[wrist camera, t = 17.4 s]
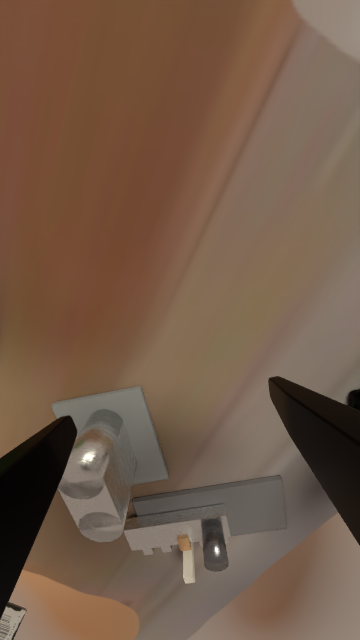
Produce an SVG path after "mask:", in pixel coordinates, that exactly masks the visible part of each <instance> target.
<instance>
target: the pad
mask: <svg viewBox="0 0 360 640" xmlns="http://www.w3.org/2000/svg"><path fill="white" fill-rule="evenodd" d="M51 407H52V409H53V411H54V413H55V416H56V418H57V419H58V418H59V417H62V416H67V415H70V416H71V417H72V419H73V421H74V423H75V425H76V428H77V437H78V435H79V433H80V432H81V430H82V428H83V427H84V425H85V423H86V422H87V420H88V418H89V417H90V415H91V414H92V413H94V412H95V411H97V410H102V409H107V410H111V411H114V412H116V413H117V414H118V415H120V417H121V418H122V419H123V422H124V425H125V427H126V430H127V433H128V436H129V439H130V442H131V444H132V447H133V450H134V453H135V456H136V459H137V469H136V473H135V478H134V483H133V485H134V484H140V483H146V482H153V481H159V480H165V479H169V473H168V470H167V467H166V464H165V460H164V457H163V454H162V451H161V448H160V444H159V441H158V438H157V435H156V431H155V428H154V425H153V422H152V419H151V415H150V412H149V409H148V406H147V402H146V399H145V396H144V393H143V390H142V386H137V387H131V388H126V389H121V390H116V391H111V392H105V393H100V394H95V395H90V396H84V397H79V398H74V399H69V400H64V401H58V402H54V403H53V404H52V405H51ZM77 437H76V438H77Z"/></svg>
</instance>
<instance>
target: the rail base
mask: <svg viewBox="0 0 360 640" xmlns="http://www.w3.org/2000/svg"><path fill="white" fill-rule="evenodd" d="M132 504H133V506H134V509H135V511H136V514H137V516H138V517H141V516H147V515H154V514H161V513H167V512H174V511H180V510H187V509H194V508H200V507H207V506H213V505H220V504H224V507H225V511H226V516H227V520H228V525H229V530H230V535H231V536H236V535H243V534H250V533H258V532H265V531H272V530H279V529H286V528H287V522H286V513H285V503H284V494H283V485H282V478H281V476H280V475H278V476H272V477H265V478H259V479H253V480H246V481H240V482H234V483H227V484H221V485H214V486H208V487H202V488H195V489H189V490H183V491H176V492H170V493H164V494H157V495H151V496H145V497H138V498H133V501H132ZM183 578H184V581H185V584H187V583H195V571H194V549H193V542H192V543H191V550H187V551H183Z"/></svg>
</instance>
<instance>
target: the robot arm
mask: <svg viewBox="0 0 360 640" xmlns="http://www.w3.org/2000/svg"><path fill="white" fill-rule="evenodd" d="M268 383H269V392H270V397H271V400H272V402H273V404H274V406H275V408H276V410H277V412H278V414H279V416H280V418H281V420H282V422H283V424H284V426H285V428H286V430H287V432H288V433H289V435H290V437H291V438H292V440H293V442H294V443H295V445H296V446H297V448H298V450H299V451H300V453H301V454H302V456H303V457H304V459H305V461H306V462H307V464H308V465H309V467H310V468H311V470H312V472H313V473H314V475H315V476H316V478H317V479H318V481H319V482H320V484H321V486H322V487H323V489H324V490H325V492H326V493H327V495H328V497H329V498H330V500H331V501H332V503H333V504H334V506H335V508H336V509H337V511H338V512H339V514H340V515H341V517H342V519H343V520H344V522H345V523H346V525H347V526H348V528H349V530H350V531H351V533H352V534H353V536H354V537H355V539H356V540H357V542H358V543H359V545H360V389H359V390H354V391H352V393H351V399H350V407H349V406H347V405H345V404H342V403H340V402H338V401H335V400H333V399H331V398H328V397H326V396H324V395H321V394H319V393H317V392H314V391H312V390H310V389H307V388H305V387H303V386H300V385H298V384H296V383H293V382H291V381H289V380H286V379H284V378H282V377H279V376H276V377H271V378H269V380H268ZM76 437H77V428H76V425H75V423H74V421H73V419H72V417H71V416H70V415H67V416H62V417H59V418H58V419H56V420H55V421H54V422H52V423H51V424H49V425H48V426H46V427H45V428H43V429H42V430H41V431H39V432H38V433H36V434H35V435H33V436H32V437H30V438H29V439H27V440H26V441H25V442H23V443H22V444H20V445H19V446H17V447H16V448H14V449H13V450H12V451H10V452H9V453H7V454H6V455H4V456H3V457H1V458H0V620H1V618H2V615H3V613H4V611H5V608H6V606H7V604H8V601H9V599H10V597H11V594H12V592H13V590H14V588H15V585H16V583H17V581H18V578H19V576H20V574H21V571H22V569H23V567H24V564H25V562H26V560H27V558H28V555H29V553H30V551H31V548H32V546H33V544H34V541H35V539H36V537H37V534H38V532H39V530H40V527H41V525H42V523H43V521H44V518H45V516H46V514H47V511H48V509H49V507H50V504H51V502H52V500H53V497H54V495H55V493H56V490H57V488H58V486H59V484H60V481H61V479H62V476H63V474H64V472H65V469H66V466H67V463H68V460H69V457H70V454H71V451H72V448H73V445H74V443H75V440H76Z"/></svg>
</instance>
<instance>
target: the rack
mask: <svg viewBox="0 0 360 640" xmlns="http://www.w3.org/2000/svg"><path fill="white" fill-rule="evenodd" d="M123 532H124V534H125V536H126V538H127V541H128V543H129V545H130V548H131V550H132V551H135V550H143V552H144V555H150V554H154V548H156V547H161V548H162V551H163V553H165V552H172V545H179V548H180V551H187V550H191V543H192V542H199V543H200V547H203V553H204V565H205V567H206V568H207V569H208V570H210V571H222V570H224V569H226V568H227V567H228V557H227V551H226V545H225V544H229V540H228V537H231V535H230V530H229V525H228V520H227V516H226V511H225V507H224V504H220V505H213V506H207V507H200V508H194V509H187V510H180V511H174V512H167V513H161V514H154V515H147V516H141V517H134V518H128V519H126V520H125V524H124V529H123Z"/></svg>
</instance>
